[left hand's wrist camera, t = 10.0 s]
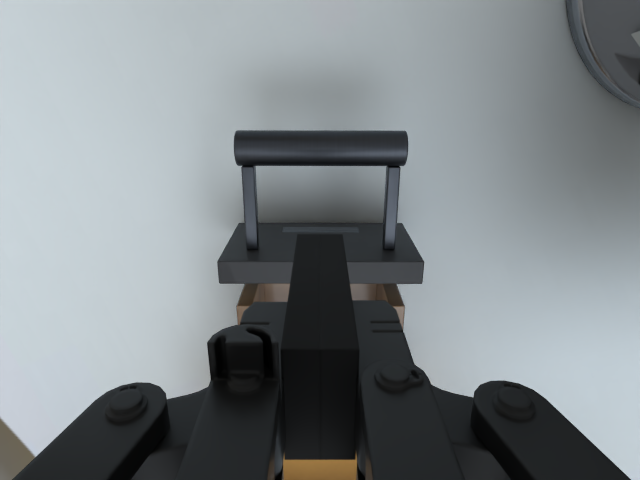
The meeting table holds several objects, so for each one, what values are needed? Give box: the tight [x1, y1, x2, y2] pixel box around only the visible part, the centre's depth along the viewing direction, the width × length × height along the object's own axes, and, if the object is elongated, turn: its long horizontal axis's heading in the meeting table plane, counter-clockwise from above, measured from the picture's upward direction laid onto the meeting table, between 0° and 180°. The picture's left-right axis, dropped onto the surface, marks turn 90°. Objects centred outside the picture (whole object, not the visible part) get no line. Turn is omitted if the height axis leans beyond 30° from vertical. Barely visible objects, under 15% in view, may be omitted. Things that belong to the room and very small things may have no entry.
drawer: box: [217, 131, 424, 329], centre depth 26 cm, size 23×10×6 cm, turn 0°
